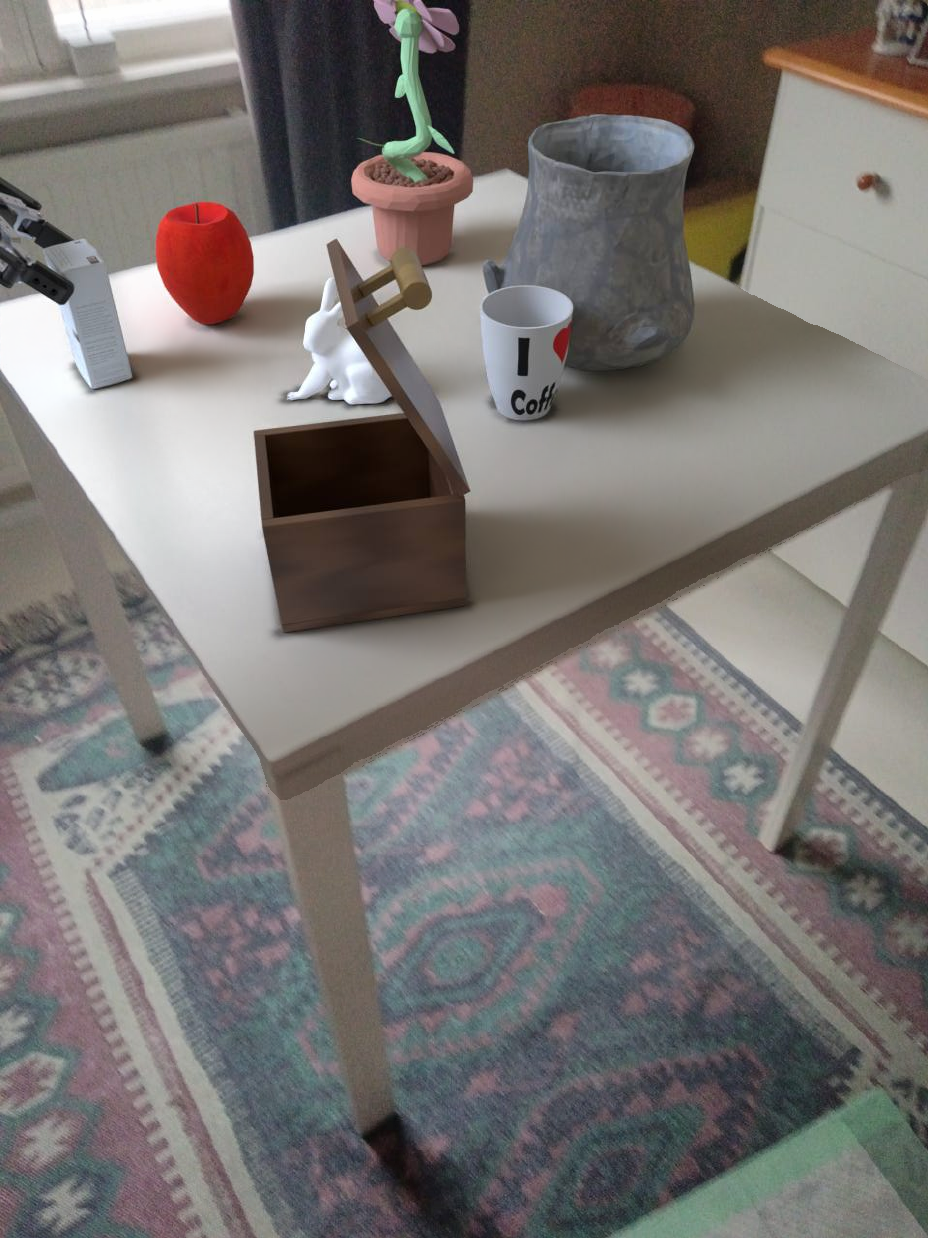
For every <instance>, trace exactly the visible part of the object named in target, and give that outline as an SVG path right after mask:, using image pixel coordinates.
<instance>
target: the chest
mask: <svg viewBox="0 0 928 1238" xmlns="http://www.w3.org/2000/svg"><path fill="white" fill-rule="evenodd" d="M253 443H254V452H255V463H256V465H255V466H256V476H257V487H258V498H259V499H258V500H259V509H260V520H261V529H262V535H263V539H264V544H265V550H266V555H267V561H268V565H269V570H270V576H271V580H272V586H273V590H274V595H275V600H276V606H277V610H278V615H279V621H280V624H281V630H282V633H291V632H297V631H303V630H309V629H317V628H325V627H331V626H338V625H344V624H345V625H346V624H352V623H358V622H364V621H371V620H379V619H385V618H392V617H397V616H406V615H413V614H419V613H426V612H432V611H439V610H446V609H453V608H460V607H466V606H467V605H468V598H467V597H468V596H467V595H468V593H467V592H468V590H467V586H468V585H467V583H468V581H467V580H468V579H467V578H468V577H467V514H466V513H467V510H466V509H467V508H466V507H467V506H466V501H467V500H466V497H465V495H463V496H461V497H460V496H459V494H458V493H457V491H456V490H455V488H454V487H453V485H452V484H451V482H450V481H449V479H448V478H447V476H446V475H445V473H444V472H443V470H442V469H441V467H440V466H439V464H438V463H437V461H436V460H435V459H434V457H433V456H432V454H431V453H430V451H429V450H428V448H427V447H426V445H425V444H424V442H423V441H422V439H421V438H420V436H419V435H418V433H417V432H416V430H415V429H414V427H413V426H412V424H411V423H410V421H409V420H408V418H407V417H406V416H405V414H404V413H403V412H399V413H398V412H397V413H391V414H381V415H373V416H366V417H357V418H347V419H339V420H333V421H332V420H331V421H322V422H315V423H306V424H298V425H290V426H289V425H288V426H281V427H280V426H279V427H273V428H264V429H256V430H253Z"/></svg>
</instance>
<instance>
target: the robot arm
mask: <svg viewBox="0 0 928 1238" xmlns="http://www.w3.org/2000/svg"><path fill="white" fill-rule="evenodd" d="M42 208H43V206H42V204H41V202H39V201H38V200H36V199H35V198H33V197H32V196H30V195H29V194H28V193H26V192H24V191H22V190H21V189H19V188H18V187H17V186H15V185H13V184H12V183H11V182H9V181H7V180H5V178H3V177H1V176H0V285H1V286H3V287H4V288H7V289H9V290H10V289H12V288H13V286H14V285H15V284H17V285H21V284H23V283H24V284H25V285H27V286H28V287H30V288H32V289H33V290H35V291H36V292H38V293H39V294H42V295H43V296H45V297H46V298H48V299H49V300H50V301H53V302H54V303H56V304H57V305H58V306H59V305H64V304H66V303H67V301H68V300H69V298H70V297H71V295H72V294H73V293H74V288H75V287H74V284H73V283H72V282H71V281H69V280H67V279H66V278H64V277H63V276H61V275H60V274H58V273H57V272H55V271H53V270H52V269H50V268H49V267H48V265H46V264H45V263H42V261H40V260H38V259H35V258H34V257H33V256H32V255H31V254H30V253H29V252H28V250H27V249H26V248H25V247H24V246H23V245H22V244H21V237H22V238H25V239H28V240H34V241H33V243H34V244H36V245H38V246H39V247H40V248H41V249H42V250H43V249H44V248H47V247H51V246H54V245H58V244H62V243H67V242H70V241H74V240H75V238H73V237H71V236H70V235H68V234H66V233H65V232H64V231H62V230H60V229H59V228H58V227H56V226H55V225H54V224H52V223H50V221H46V220H47V216H46V215H45V214H44V213H43V212H41V209H42Z"/></svg>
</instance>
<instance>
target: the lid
mask: <svg viewBox="0 0 928 1238" xmlns="http://www.w3.org/2000/svg"><path fill="white" fill-rule="evenodd" d="M326 249H327V253H328V258H329V261H330V266H331V270H332V274H333V277H334V278H335V282H336V286H337V291H338V292H337V295H338V299H339V302H340V303H341V307H342V311H343V315H344V316H343V319H344V323H345V327H346V329H347V330H348V331H349V333H350V334H351V335H352V337H353V338H354V340H355V341H356V343H357V344H358V346H359V347H360V349H361V350H362V352H363V353H364V355H365V356H366V358H367V359H368V361H369V362H370V364H371V365H372V367H373V368H374V370H375V371H376V373H377V374H378V376H379V377H380V378H381V380H382V381H383V383H384V384H385V386H386V387H387V389H388V390H389V392H390V393H391V395H392V396H393V397H392V398H393V400H394V401H395V403H396V404H397V405H398V408H400V409H401V411H402V413H404V414H405V416H406V417H407V418H408V420H409V421H410V423H411V424H412V426H413V427H414V429H415V430H416V432H417V433H418V435H419V436H420V438H421V439H422V441H423V442H424V444H425V445H426V447H427V448H428V450H429V451H430V453H431V454H432V456H433V457H434V459H435V460H436V461H437V463H438V464H439V466H440V467H441V469H442V470H443V472H444V473H445V475H446V476H447V478H448V479H449V481H450V482H451V484H452V485H453V487H454V488H455V490H456V491H457V493H458V494H459V496H460V497H461V496H463V495H464V496H465V495H467V494H469V493H470V492H471V488H470V485H469V482H468V479H467V477H466V474H465V472H464V471H465V470H464V467H463V466H462V463H461V459H460V456H459V453H458V451H457V447H456V445H455V442H454V439H453V437H452V433H451V430H450V427H449V425H448V422H447V419H446V416H445V414H444V411H443V407H442V405H441V401H440V399H439V398H438V396H437V394H436V393H435V391H434V390H433V389H432V387H431V385H430V384H429V382H428V380H427V378H426V377H425V376H424V374H423V372H422V371H421V369H420V368H419V366H418V365H417V363H416V361H415V360H414V358H413V357H412V356H411V354H410V352H409V351H408V348H407V347H406V345H405V344H404V342H403V341H402V339H401V338H400V337H399V335H398V332H397V331H396V330H395V328H394V327H393V325H392V324H391V322H390V321H389V318H391V317H392V316H394V315H396V314H397V313H399V312H401V311H402V310H404V309H406V308H408V309H410V310H414V311H420V310H423V309H425V308H427V307H428V306H429V305H430V304H431V302H432V299H433V291H432V288H431V286H430V283H429V281H428V279H427V275H426V273H425V270H424V268H423V265H421V263H420V260H419V258H418V255H417V254H416V252H415V251H414V250H412V249H410V248H406V247H404V248H400V249H398V250H396V251H395V252H394V253H393V255H392V257H391V261H390V265H388V266H386V267H384V268H383V269H381V270H380V271H378V272H376V273H374V274H373V275H371V276H369V277H368V278H366V279H364V280H363V278H362V275H360V273H359V271H358V269H357V268H356V267H355V265H354V264H353V261H352V259H350V257H349V256H348V253H346V250H345V249H344V247H343V246H342V245H341V243H340V242H339V239H338V238H335V239H333V240H331V241H329V242H327V243H326ZM393 281H395V282H396V283H397V287H398V290H399V293H398V294H396V295H394V296H393V297H391V298H390V299H387V300H386V301H384V302H383V303H381V304H380V305H379V303H378V301H377V300H376V299H375V297H374V295H373V294H374V293H375V292H376V291H378V290H380V289H382V288H383V287H385V286H386V285H389V284H390V283H392V282H393ZM395 331H396V332H395Z"/></svg>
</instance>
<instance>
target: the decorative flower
mask: <svg viewBox="0 0 928 1238" xmlns="http://www.w3.org/2000/svg"><path fill="white" fill-rule="evenodd" d="M372 1H373V7H374V10H375V11H376V13H377V16H378V17H379V20H380V21H381V22H382V23H384V24H385V25H386V24H388V25H389V26H390V27H391V28H389V29H388V30H389V33H390V34H391V35H392V37H394V38H395V39H396V40H397V41H399V42H400V43H401V44H400V45H401V47H400V63H401V70H402V74H401V75H400V76H399V77H398V79H397V82H396V87H395V92H394V98H397V99H400V98H402V97H404V96H406V98H407V101H408V104H409V108H410V111H411V113H412V117H413V120H414V121H413V122H414V125H415V136H414V137H411V138H409V139H407V140H394V141H388V142H386V143H385V144H378V143H375V142H372V141H368V140H366V139H363V138H360V137H357V140H360V141H363V142H365V143H367V144H370V145H374V146H376V147H382V148H381V154H378V155H375V156H374V157H371V158H370V159H367V160H363V161H362V162H360V163H359V164H358V165H357V167H356V168H355V169H354V170H353V171H352V175H351V178H350V179H351V180H350V181H351V190H352V195H354V196H355V197H356V198H357V199H358V200H360V201H361V202H362V203H364V204H367V205H370V206H371V209H372V216H373V225H374V226H373V227H374V232H375V233H374V234H375V241H376V246H377V250H378V253H379V254H380V255H381V256H382V257H383V258H384V259H385V260H387V261H389V262H391V257H392V255H393V253H394V252H395V251H396V250H398V249H400V248H404V247H406V248H410V249H412V250H414V251H415V252H416V254H417V255H418V258H419V260H420V263H421V265H422V266H427V265H430V264H434V263H437V262H441V260H443V259H444V258H446V257H447V255H448V254H449V253H450V250H451V246H452V242H453V241H452V239H453V228H454V227H453V226H454V217H455V205H457V204H459V203H461V202H463V201H465V200H466V199H468V198H469V197H470V195H471V194H472V193H473V192H474V191H473V190H474V178H473V177H474V176H473V174H472V171H471V169H470V167H468V165H466V163H464V162H463V161H462V160H459V159H457V158H455V157H452V156H450V155H447V154H443V153H438V152H431V151H429V152H428V151H426V150H427V149H428V148H429V147H430V146H431V144H432V139H433V140H434V142H435V143H436V144H437V145H438V146H440V147H441V148H443V149H444V150H446V151H447V152H449V153H451V154H453V155H454V154H455V150H454V149H453V147H452V145H451V144H450V143H449V142H448V140H447V139H446V138H445V136H443V135H442V134H441V133H440V132H438V130H437V129H435V128H433V126H432V123H433V122H432V119H431V114H430V111H429V108H428V104H427V101H426V97H425V94H424V89H423V86H422V83H421V80H420V76H419V51H421V52H424V53H425V54H426V53H427V54H434V53H436V52H438V51H441V52H444V53H448V52H451V51H454V50H455V49H456V44H455V43H454V41H453V40H452V39H451V38H449V37H448V36H447V35H445V34H443V32H441V31H439V30H438V29H440V30H442V31H444V32H446V33H448V34H451V35H452V36H456V35H457V34H458V33H459V32H460V25H459V22H458V20H457V19H458V18H457V17H456V15H455V14H454V13H453V12H452V11H451V10H450V9H449V8H441V7H427V6H426V5H425V3H424V2H423V1H422V0H372ZM435 27H436V28H435ZM437 28H438V29H437Z"/></svg>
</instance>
